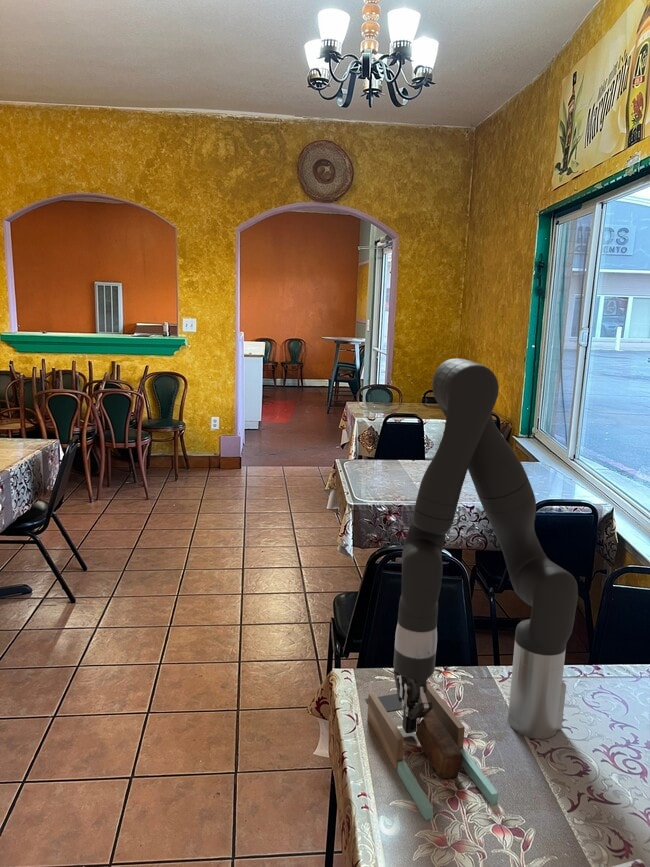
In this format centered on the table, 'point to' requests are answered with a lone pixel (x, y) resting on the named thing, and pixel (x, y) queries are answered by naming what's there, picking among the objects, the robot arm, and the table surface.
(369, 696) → the trench
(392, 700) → the pad
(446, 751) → the brick
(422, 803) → the bay
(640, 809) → the table surface
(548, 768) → the table surface
